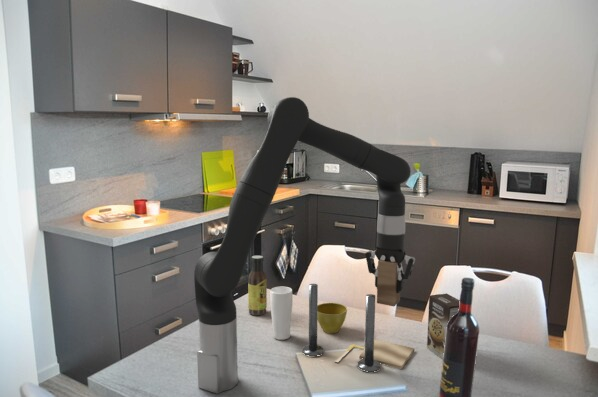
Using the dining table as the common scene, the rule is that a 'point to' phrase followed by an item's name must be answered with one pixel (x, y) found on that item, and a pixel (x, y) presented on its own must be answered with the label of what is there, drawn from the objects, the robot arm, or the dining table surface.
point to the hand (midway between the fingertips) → (388, 290)
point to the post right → (369, 337)
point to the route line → (355, 347)
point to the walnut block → (387, 283)
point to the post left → (313, 323)
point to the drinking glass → (281, 311)
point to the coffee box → (440, 320)
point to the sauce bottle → (257, 287)
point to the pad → (390, 353)
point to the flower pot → (331, 316)
